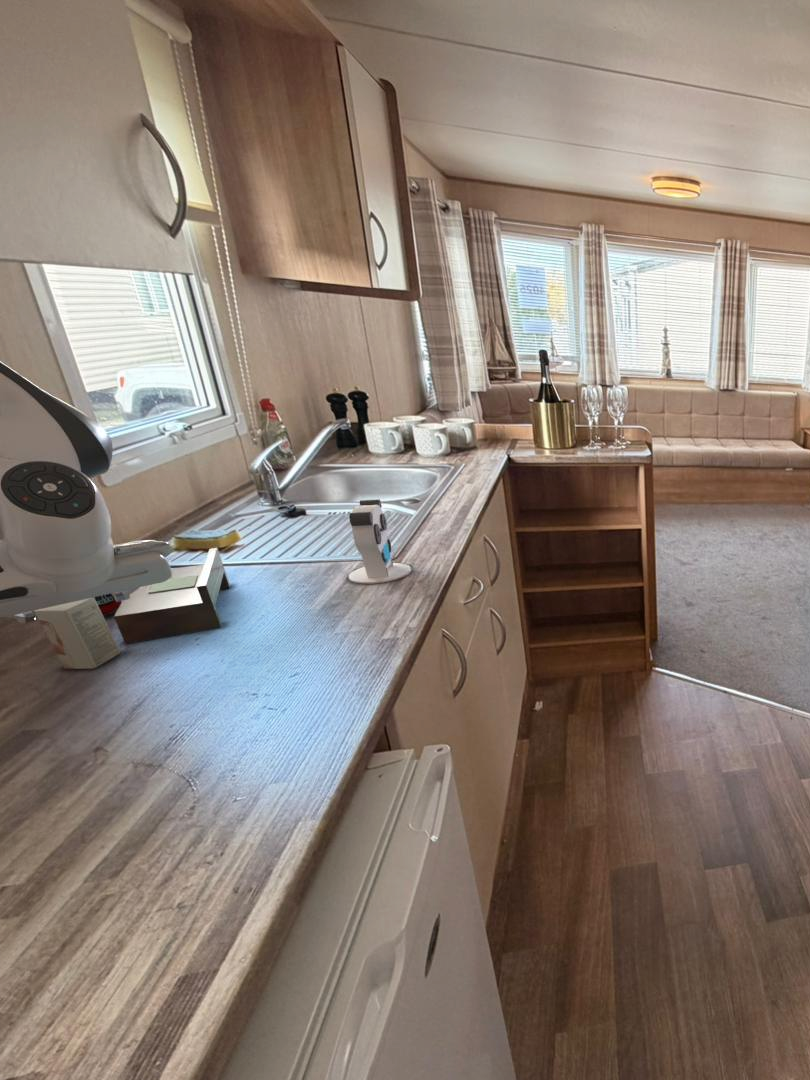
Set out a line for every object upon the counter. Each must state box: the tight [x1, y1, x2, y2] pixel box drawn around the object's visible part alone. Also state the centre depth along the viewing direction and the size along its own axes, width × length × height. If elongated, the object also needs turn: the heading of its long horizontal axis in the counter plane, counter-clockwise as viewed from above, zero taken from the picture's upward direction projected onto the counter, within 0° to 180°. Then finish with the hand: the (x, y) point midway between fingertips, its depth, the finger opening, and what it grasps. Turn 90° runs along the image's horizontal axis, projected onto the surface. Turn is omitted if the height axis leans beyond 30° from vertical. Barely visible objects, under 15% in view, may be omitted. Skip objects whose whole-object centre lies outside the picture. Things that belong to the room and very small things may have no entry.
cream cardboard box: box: [33, 597, 121, 670], centre depth 97 cm, size 5×4×10 cm
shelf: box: [113, 547, 231, 645], centre depth 114 cm, size 12×22×8 cm, turn 36°
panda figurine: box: [348, 499, 412, 585], centre depth 132 cm, size 12×11×15 cm
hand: (75, 606), depth 91 cm, fingers open, 8 cm apart
